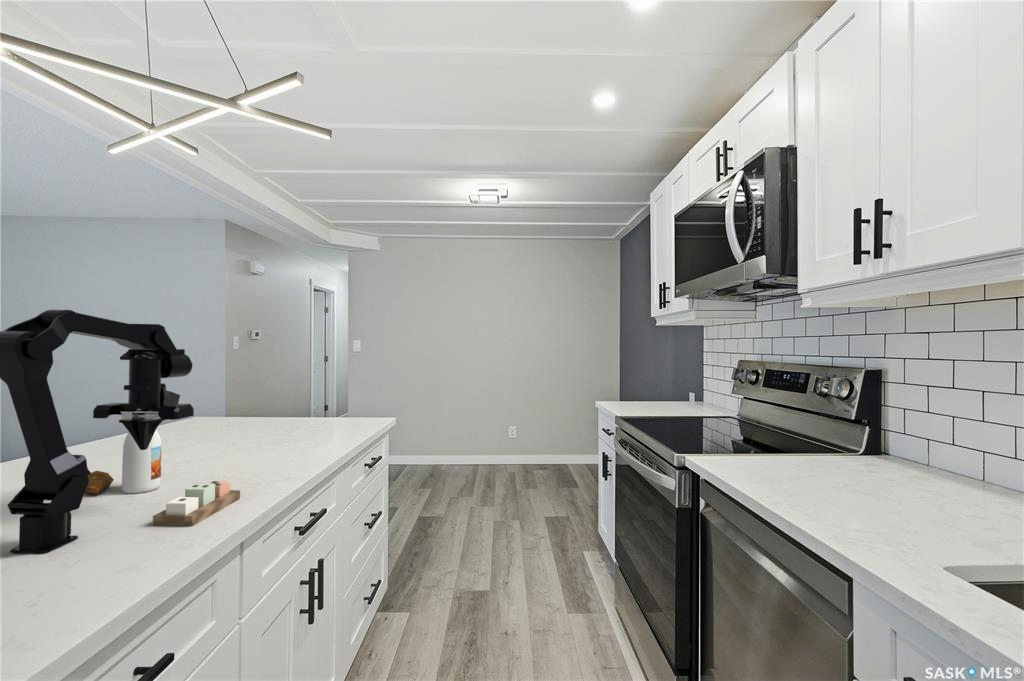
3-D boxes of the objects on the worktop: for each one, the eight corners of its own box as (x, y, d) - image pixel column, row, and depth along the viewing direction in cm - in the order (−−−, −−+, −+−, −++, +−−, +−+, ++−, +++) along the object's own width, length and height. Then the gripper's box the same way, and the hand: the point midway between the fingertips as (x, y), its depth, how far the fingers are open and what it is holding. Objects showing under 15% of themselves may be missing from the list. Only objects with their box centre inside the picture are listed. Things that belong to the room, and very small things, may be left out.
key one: (185, 523, 97) (185, 502, 97) (165, 522, 97) (166, 502, 97) (198, 516, 101) (198, 496, 101) (179, 515, 101) (179, 496, 101)
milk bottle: (139, 495, 114) (141, 412, 115) (113, 493, 116) (115, 411, 116) (168, 486, 122) (170, 408, 122) (143, 483, 124) (145, 407, 124)
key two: (203, 507, 103) (203, 488, 103) (184, 507, 103) (185, 488, 103) (214, 501, 107) (215, 483, 107) (196, 501, 107) (197, 482, 107)
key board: (192, 526, 96) (192, 516, 96) (152, 525, 96) (153, 515, 96) (240, 498, 113) (240, 490, 113) (206, 498, 113) (206, 489, 113)
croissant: (80, 486, 122) (81, 466, 122) (115, 481, 126) (115, 463, 126) (73, 500, 111) (74, 479, 111) (111, 495, 115) (112, 474, 115)
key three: (219, 504, 108) (219, 485, 108) (201, 503, 108) (202, 485, 108) (229, 498, 112) (229, 480, 112) (212, 498, 112) (213, 480, 112)
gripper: (209, 377, 114) (208, 442, 114) (132, 376, 114) (131, 441, 114) (176, 381, 103) (175, 453, 103) (91, 380, 103) (90, 452, 103)
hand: (143, 449), depth 106 cm, fingers closed
